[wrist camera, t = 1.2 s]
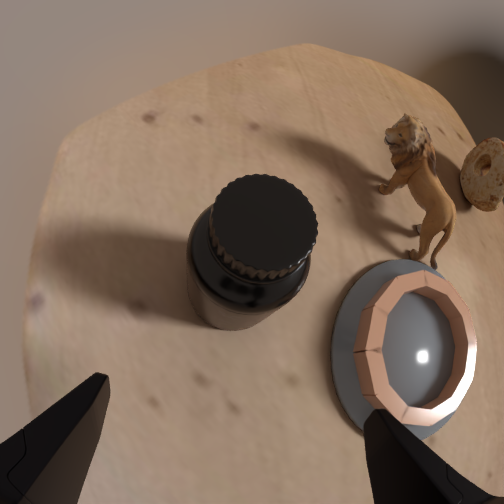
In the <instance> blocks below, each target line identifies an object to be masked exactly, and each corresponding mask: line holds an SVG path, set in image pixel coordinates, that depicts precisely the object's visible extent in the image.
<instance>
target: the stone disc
mask: <svg viewBox="0 0 504 504" xmlns="http://www.w3.org/2000/svg"><path fill="white" fill-rule="evenodd" d="M460 180H461V186H462V189H463V193H464V195H465V197H466V198H467V200H468V201H469V202H470V203H471V204H472V205H474V206H475V207H476V208H477V209H480V210H482V211H486V212H489V211H494V210H496V209H497V208H498V206H499V203H500V202H501V201H502V199H503V197H504V142H502V141H501V140H500V139H498V138H495V137H493V138H488V139H486V140H483V141H482V142H481V143H479V144H478V145H477V146H476V147H474V148H473V150H471V151H470V152H469V153H468V155H467V156H466V158H465V160H464V163H463V166H462V169H461V174H460Z"/></svg>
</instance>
